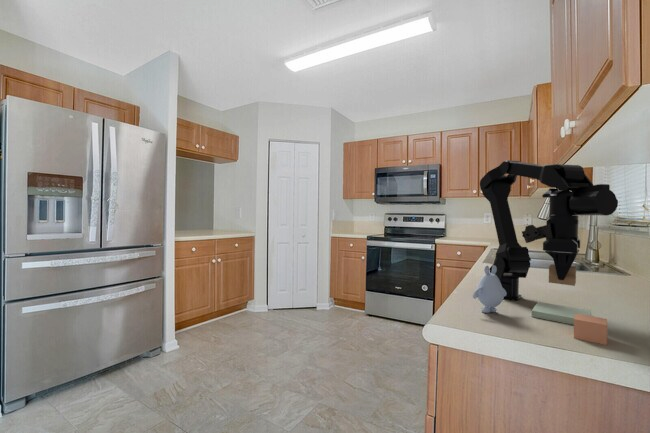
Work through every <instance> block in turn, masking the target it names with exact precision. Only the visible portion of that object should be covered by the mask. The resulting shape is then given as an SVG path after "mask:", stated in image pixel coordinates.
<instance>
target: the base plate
mask: <svg viewBox="0 0 650 433" xmlns="http://www.w3.org/2000/svg"><path fill="white" fill-rule="evenodd" d="M575 314H581V315H587V316H592V310H591V309H585V308H579V307H573V306H566V305H560V304H555V303H548V302H542V301H537V303H536V304H535V305H534V306H533V307H532V309H531V317H532V318H537V319H543V320H547V321H553V322H557V323H563V324H568V325H573V326H574V317H575Z"/></svg>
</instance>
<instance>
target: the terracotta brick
mask: <svg viewBox="0 0 650 433" xmlns="http://www.w3.org/2000/svg"><path fill="white" fill-rule="evenodd" d="M573 339H577V340H581V341H586V342H591V343H595V344H599V343H600V345H604V344H605V346H608V320H607V318H603V317H597V316H593V315H591V316H587V315H581V314H575V317H574V325H573Z"/></svg>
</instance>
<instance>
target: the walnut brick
mask: <svg viewBox="0 0 650 433" xmlns="http://www.w3.org/2000/svg"><path fill="white" fill-rule="evenodd" d="M548 283H550V284H558V285H567V286H573V287H575V286H576V283H577V266H574V265H571V267H570V269H569V271H568V273H567V275H566V277H565V279H564V280H559V279H558V277H557V272H556V268H555V264H554V263H551V264H550V265H548Z"/></svg>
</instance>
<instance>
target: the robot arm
mask: <svg viewBox="0 0 650 433" xmlns="http://www.w3.org/2000/svg"><path fill="white" fill-rule="evenodd" d="M518 176H519V177H524V178H530V179H535V180H537V181H539V182H540V184H542V185H545V186H547V187H549V188H548V190H547V191H546V192H544V193H543V194H542V198H545V199H546V198H549V205H548V207H549V211H548V217H549V218H548V219H547V220H546V224H544V225H541V226H538V227H536V226H535V225H534V224H530V225H527V226H525V228H524V230H522V231H521V234H522V237H523V239H524V241H525V243H526V244H528V243H532V242H535V241H537V240H542V239H545V240H544V241H543V242H542V251H544V252H545V253H546V254H547V255H548V256H550V257H551V258H552V260H553V264H555V268H556V272H557V277H558V279H559V280H564V279H565V277H566V275H567V273H568V271H569V269H570V267H571V266H573V263H574V262H575V260H576V257H577V256H578V254H579V252H580V248H581V239H579V224H580V221H579V216H610V215H612V214H614V213H615V212H616V211H617V208H618V206H619V201H618V199H617V196H616V194H615V193H614V192H613V191H612V190H611V188H610V186H611V185H610V184H608V183H607V184H605V183H601V184H600V183H599V184H593V182H592V181H591V180H590V178H589V177H588V176H587V175H586V173H585V170H584V168H583V166H582V165H579V164H560V163H559V164H557V163H556V164H555V163H554V164H536V163H529V162H523V161H522V162H521V161H519V160H510V159H509V160H505V161H502V162H501V163H500V164H499V165H498V166H496V167H494V168H492V169H491V170H488V172H486V173H485V175H484V176H482V178H481V179H480V181H479V188H480V190H481V193H482V195H483V196H484V198H485V199H486V201H488V202H489V204H490V208H491V212H492V217H493V221H494V226H495V231H496V236H497V241H498V244H499V246H498V247H497V250H496V252H495V261H494V263H493V264H491V266H490V267H489V273H492V266H493V265H495V266H496V268H497V271H496V273H495V275H496V276H497V277H498V279H499V281H500V283H501V285H502V288H504V289H505V291H506V293H507V295H506V296H504V299H508V300H514V301H519V299H521V298H522V294H519V288H520V287H519V286H520V284H519V282H520V278H521V279H523V278H524V279H526V278H527V276H528V272H529V269H530V267H531V261H532V259H531V257H530V254H529V253H530V252H529V248H528V247H527V246H522V245H521V244H520V243H519V242H518V237H517V234H516V229H515V225H514V221H513V216H512V212H511V208H510V205H509V204H510V203H509V196H510V194H511V191H512V189H511V188H512V187H511V186H512V185H513V184H515V183H516V181H517V177H518Z"/></svg>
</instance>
